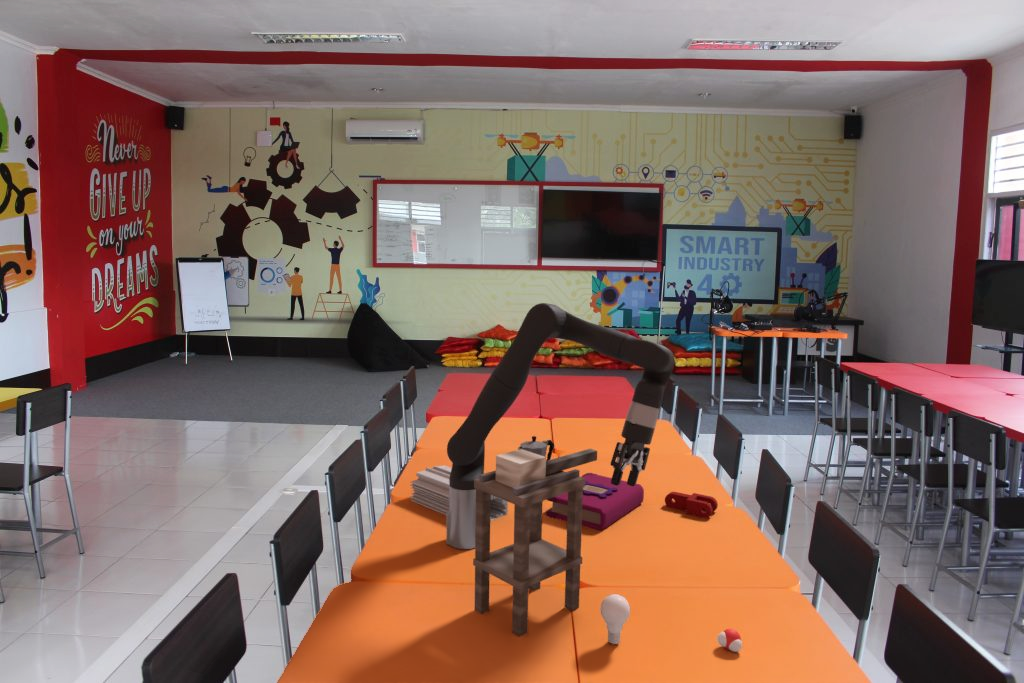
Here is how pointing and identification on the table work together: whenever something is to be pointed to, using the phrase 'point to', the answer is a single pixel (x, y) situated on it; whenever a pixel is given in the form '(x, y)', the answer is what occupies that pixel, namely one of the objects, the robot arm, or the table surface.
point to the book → (600, 501)
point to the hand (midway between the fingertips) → (622, 485)
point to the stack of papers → (445, 492)
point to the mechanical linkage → (692, 503)
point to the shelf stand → (528, 542)
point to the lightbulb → (615, 615)
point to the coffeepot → (538, 447)
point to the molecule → (730, 640)
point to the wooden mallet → (535, 465)
